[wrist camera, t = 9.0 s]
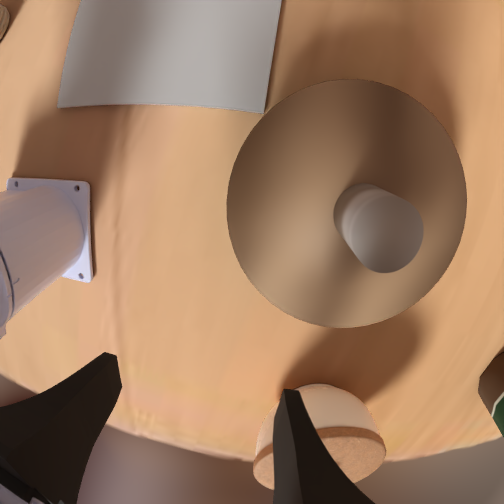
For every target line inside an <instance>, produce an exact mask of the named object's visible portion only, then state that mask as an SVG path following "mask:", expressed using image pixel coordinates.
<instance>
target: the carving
mask: <svg viewBox="0 0 504 504" xmlns="http://www.w3.org/2000/svg"><path fill="white" fill-rule="evenodd" d="M9 19H10V14H9V12H8V11H7V8H6V7H4V6H2V4H0V40H1V38H2V36H3V35H4V33H5V31H6V29H7V26H8V23H9Z"/></svg>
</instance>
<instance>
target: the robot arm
mask: <svg viewBox="0 0 504 504" xmlns="http://www.w3.org/2000/svg"><path fill="white" fill-rule="evenodd" d="M17 183H18V184H17ZM77 185H78V186H79V188H80V190H79V191H78V189H77ZM81 273H82V274H83V276H84V277H83V276H82V275H81ZM61 276H62V277H66V278H70V279H74V280H78V281H82V282H86V283H89V282H91V281H92V280H93V268H92V254H91V234H90V185H89V183H88V182H86V181H74V180H58V179H39V178H13V177H12V178H9V179H8V180H7V190H6V191H3V192H0V339H1V338H2V337H3V336H4V335H5V334H6V323H7V322H8V321H9V320H10V319H11V318H12V317H13V316H14V315H16V314H17V313H18V312H19V311H20V310H21V309H22V308H23V307H25V306H26V305H27V304H28V303H29V302H30V301H32V300H33V299H34V298H35V297H36V296H37V295H39V294H40V293H41V292H42V291H43V290H45V289H46V288H47V287H48V286H49V285H51V284H52V283H53V282H54V281H56V280H57V279H58V278H59V277H61ZM121 389H122V383H121V378H120V373H119V367H118V361H117V356H116V355H113V354H110V353H106V352H104V353H102V354H101V355H100V356H98V357H97V358H95V359H94V360H92V361H91V362H90V363H88V364H87V365H85V366H84V367H83V368H81V369H80V370H78V371H77V372H75V373H74V374H73V375H71V376H70V377H68V378H67V379H65V380H63V381H62V382H60V383H58V384H57V385H55V386H53V387H52V388H50V389H48V390H46V391H44V392H42V393H40V394H38V395H36V396H33V397H31V398H28V399H26V400H23V401H20V402H17V403H14V404H11V405H8V406H4V407H0V504H76V503H77V498H78V493H79V489H80V485H81V482H82V477H83V474H84V471H85V468H86V465H87V462H88V459H89V456H90V454H91V451H92V448H93V446H94V443H95V442H96V440H97V438H98V436H99V434H100V432H101V430H102V429H103V427H104V425H105V423H106V421H107V420H108V418H109V416H110V414H111V412H112V410H113V408H114V407H115V404H116V402H117V399H118V397H119V394H120V391H121ZM273 463H274V498H273V504H375V503H374V502H373V501H371V500H370V499H369V498H368V497H367V496H366V495H365V494H364V493H362V491H360V490H359V489H358V488H357V486H355V484H354V483H353V482H352V481H351V480H350V479H349V478H348V477H347V476H346V475H345V473H344V472H343V471H342V470H341V468H340V467H339V466H338V464H337V463H336V462H335V460H334V459H333V458H332V456H331V455H330V453H329V452H328V450H327V448H326V447H325V445H324V443H323V442H322V440H321V438H320V436H319V435H318V433H317V431H316V429H315V427H314V425H313V423H312V421H311V419H310V416H309V414H308V412H307V410H306V407H305V405H304V402H303V399H302V397H301V394H300V392H299V391H298V390H291V389H283V392H282V396H281V399H280V402H279V405H278V408H277V411H276V414H275V416H274V425H273Z"/></svg>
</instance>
